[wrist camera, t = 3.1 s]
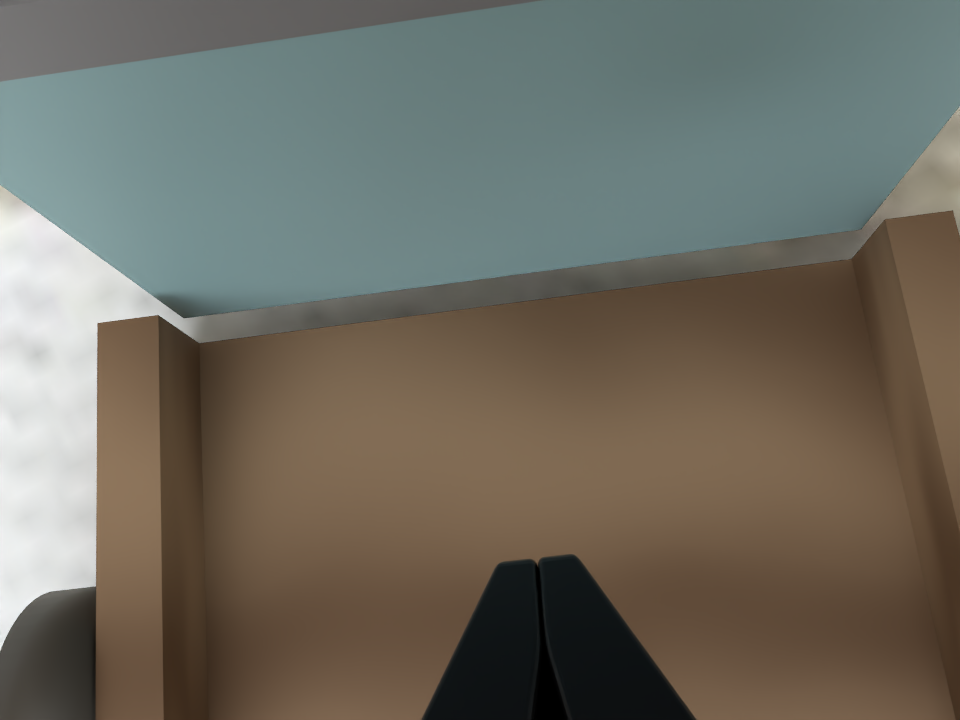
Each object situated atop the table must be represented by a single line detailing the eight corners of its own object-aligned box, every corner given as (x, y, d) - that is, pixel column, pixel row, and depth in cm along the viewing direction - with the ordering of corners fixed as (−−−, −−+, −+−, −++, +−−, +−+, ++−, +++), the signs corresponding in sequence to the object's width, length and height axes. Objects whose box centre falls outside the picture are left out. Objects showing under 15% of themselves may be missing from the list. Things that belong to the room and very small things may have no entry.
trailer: (1142, 995, 17) (1341, 1132, 12) (112, 1075, 18) (-32, 1226, 14) (957, 274, 20) (1061, 187, 16) (112, 381, 21) (-1, 328, 17)
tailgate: (861, 231, 18) (1192, -178, 9) (183, 320, 19) (-207, 38, 9) (845, 159, 19) (1142, -309, 9) (182, 249, 20) (-193, -89, 10)
